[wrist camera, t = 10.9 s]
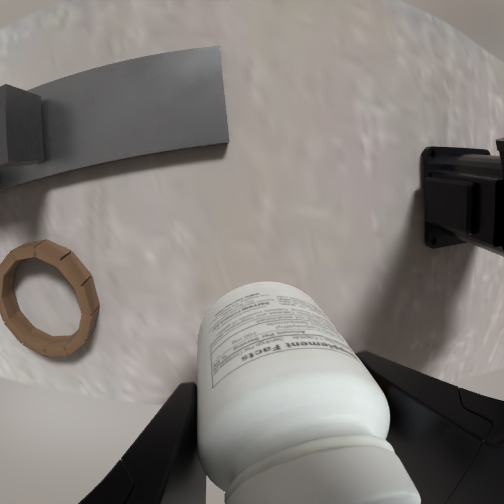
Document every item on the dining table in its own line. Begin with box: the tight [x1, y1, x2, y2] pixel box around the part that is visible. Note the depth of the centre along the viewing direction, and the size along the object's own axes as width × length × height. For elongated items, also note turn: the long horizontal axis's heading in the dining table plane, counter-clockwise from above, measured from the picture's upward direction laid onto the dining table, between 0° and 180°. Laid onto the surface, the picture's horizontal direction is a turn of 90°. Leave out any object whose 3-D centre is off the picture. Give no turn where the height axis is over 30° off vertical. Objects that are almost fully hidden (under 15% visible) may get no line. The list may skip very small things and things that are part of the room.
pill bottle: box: [197, 282, 421, 504], centre depth 7 cm, size 4×4×8 cm
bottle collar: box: [0, 240, 99, 357], centre depth 16 cm, size 7×7×2 cm
